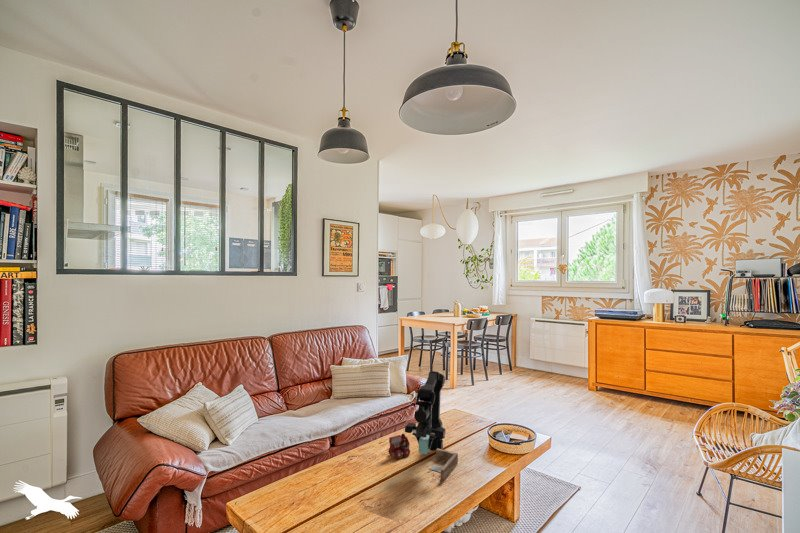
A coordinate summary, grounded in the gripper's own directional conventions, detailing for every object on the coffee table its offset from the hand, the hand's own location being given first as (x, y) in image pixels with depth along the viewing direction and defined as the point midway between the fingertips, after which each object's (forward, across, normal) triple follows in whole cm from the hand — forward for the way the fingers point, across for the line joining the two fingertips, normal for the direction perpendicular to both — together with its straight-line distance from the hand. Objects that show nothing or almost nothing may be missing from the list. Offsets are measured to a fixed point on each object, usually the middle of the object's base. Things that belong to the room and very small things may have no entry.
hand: (424, 448), depth 182 cm
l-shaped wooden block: (+11, +7, +4) cm, 14 cm away
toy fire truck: (+11, -16, +11) cm, 22 cm away
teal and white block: (+1, 0, 0) cm, 1 cm away
